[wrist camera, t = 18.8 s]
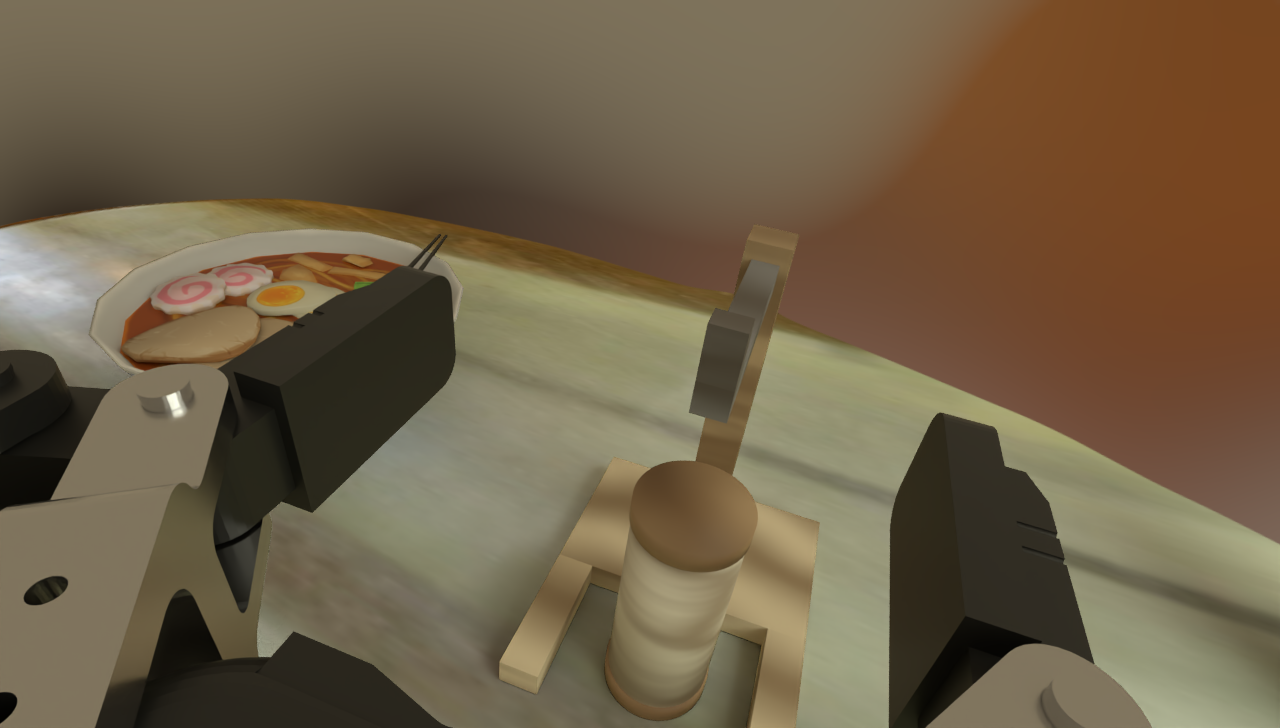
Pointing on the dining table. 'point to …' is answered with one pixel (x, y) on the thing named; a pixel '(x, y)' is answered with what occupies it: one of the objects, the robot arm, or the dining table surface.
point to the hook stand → (723, 393)
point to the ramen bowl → (242, 293)
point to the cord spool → (676, 585)
